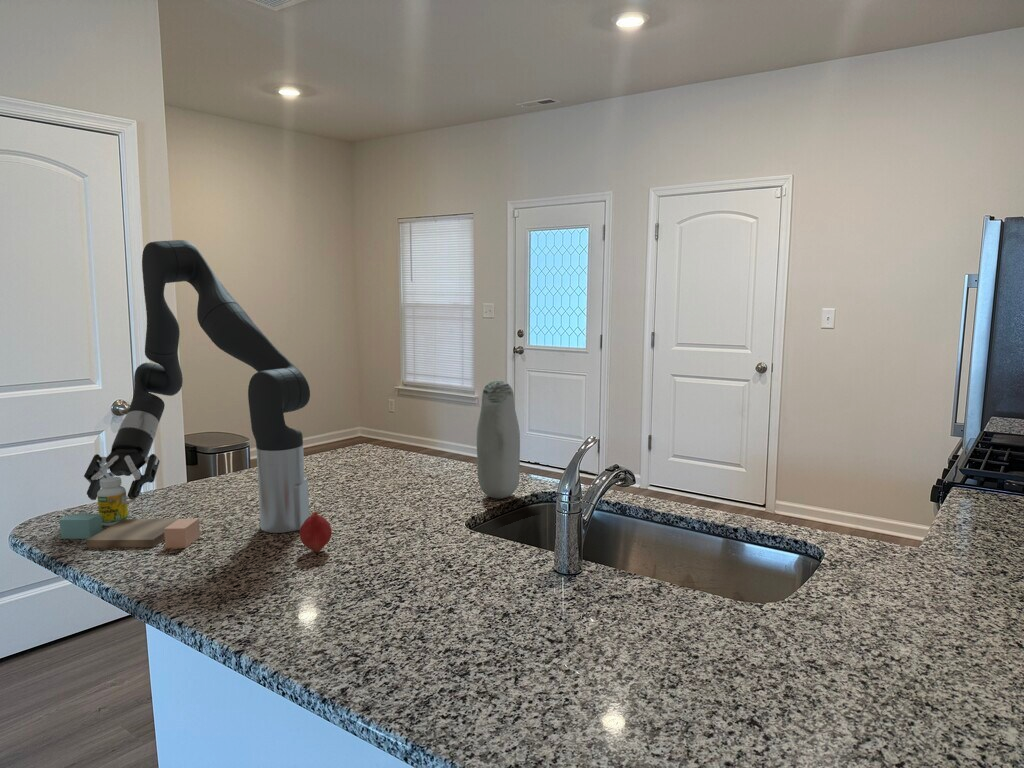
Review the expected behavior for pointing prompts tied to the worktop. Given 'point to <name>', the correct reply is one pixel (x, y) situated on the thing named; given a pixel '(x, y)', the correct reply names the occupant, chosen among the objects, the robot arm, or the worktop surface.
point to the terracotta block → (181, 533)
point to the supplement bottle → (112, 501)
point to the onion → (315, 532)
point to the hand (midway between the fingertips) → (111, 498)
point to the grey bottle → (498, 441)
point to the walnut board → (131, 533)
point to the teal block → (80, 526)
